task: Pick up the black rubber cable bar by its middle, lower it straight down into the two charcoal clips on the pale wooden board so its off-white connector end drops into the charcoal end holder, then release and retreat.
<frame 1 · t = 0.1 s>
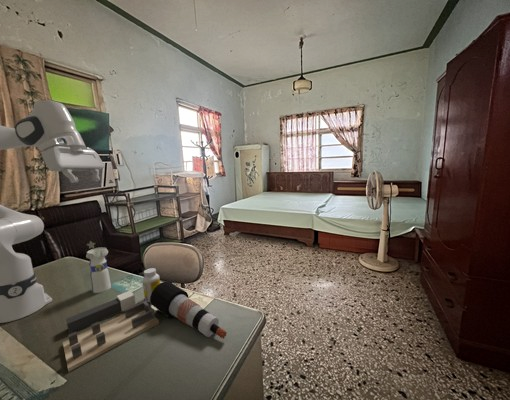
hand: (86, 181, 79), 52 cm above the table, tool tilted 20°, fingers open, 8 cm apart
supplement bottle: (153, 298, 94), on the table
water bottle: (102, 288, 104), on the table
clip board: (113, 333, 74), on the table
cable bar: (96, 319, 82), on the table
cable: (190, 322, 78), on the table
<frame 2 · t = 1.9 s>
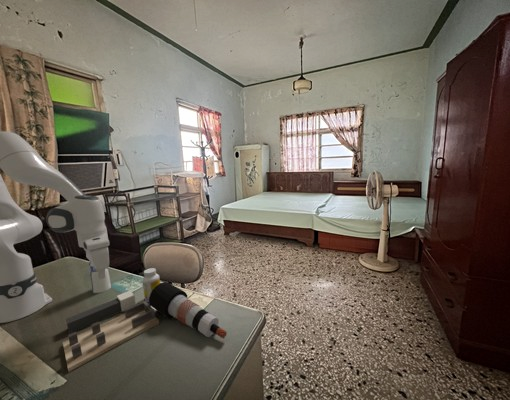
hand: (99, 274, 81), 17 cm above the table, tool pointing down, fingers open, 8 cm apart
nothing on the table moved.
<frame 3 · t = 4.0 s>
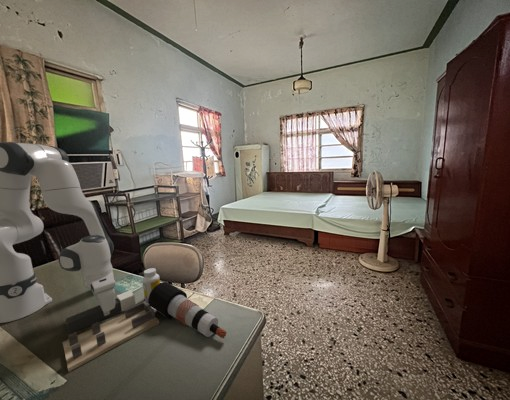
hand: (105, 311, 83), 2 cm above the table, tool pointing down, fingers closed on cable bar, 4 cm apart
cable bar: (96, 319, 82), on the table, touching gripper
everything else where it was.
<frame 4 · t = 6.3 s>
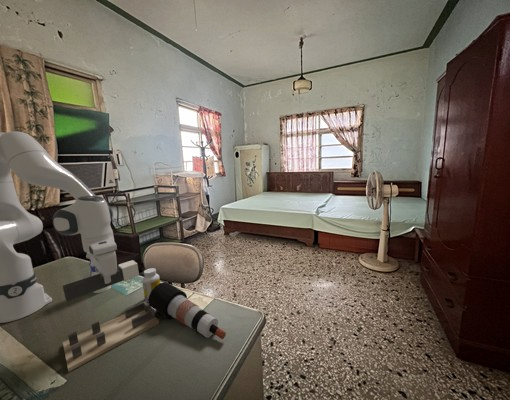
hand: (105, 280, 76), 17 cm above the table, tool pointing down, fingers closed on cable bar, 4 cm apart
cable bar: (96, 288, 74), point 15 cm above the table, touching gripper
everything else where it was.
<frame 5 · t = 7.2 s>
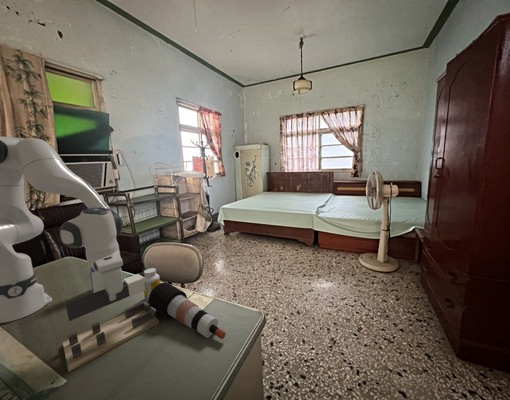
hand: (110, 296, 72), 14 cm above the table, tool pointing down, fingers closed on cable bar, 4 cm apart
cable bar: (100, 305, 70), point 12 cm above the table, touching gripper
everything else where it was.
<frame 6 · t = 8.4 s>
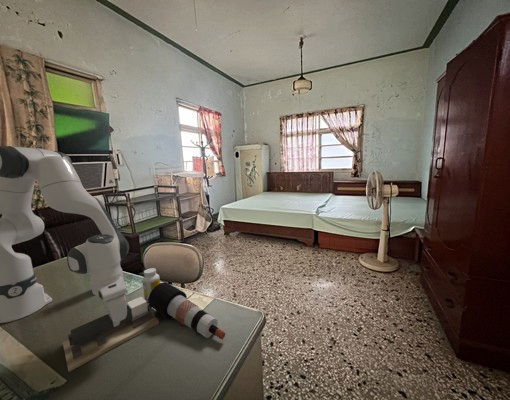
hand: (114, 321, 73), 4 cm above the table, tool pointing down, fingers closed on cable bar, 4 cm apart
cable bar: (104, 330, 72), point 3 cm above the table, touching gripper
everything else where it was.
when the fingers open (3 cm above the table, at t = 8.9 s): cable bar stays where it is, resting on clip board.
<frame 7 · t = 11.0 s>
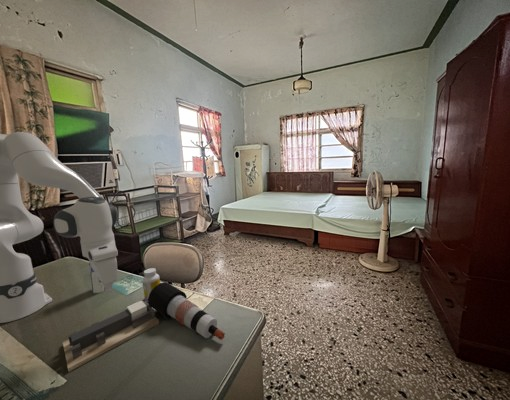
hand: (105, 286, 72), 17 cm above the table, tool pointing down, fingers open, 8 cm apart
cable bar: (104, 334, 72), point 1 cm above the table, touching clip board
everything else where it was.
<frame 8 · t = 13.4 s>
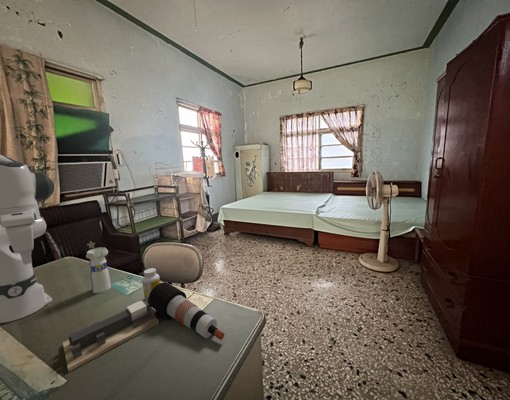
hand: (28, 259, 67), 29 cm above the table, tool pointing down, fingers open, 8 cm apart
nothing on the table moved.
at the end: cable bar 0.1 cm from the target spot on the clip board, point 1.2 cm above the clip board's base; cable bar tilted 0°; the gripper is holding nothing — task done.
